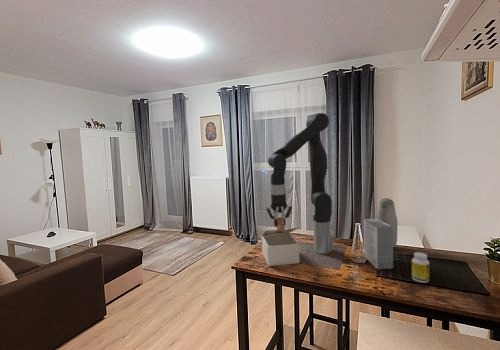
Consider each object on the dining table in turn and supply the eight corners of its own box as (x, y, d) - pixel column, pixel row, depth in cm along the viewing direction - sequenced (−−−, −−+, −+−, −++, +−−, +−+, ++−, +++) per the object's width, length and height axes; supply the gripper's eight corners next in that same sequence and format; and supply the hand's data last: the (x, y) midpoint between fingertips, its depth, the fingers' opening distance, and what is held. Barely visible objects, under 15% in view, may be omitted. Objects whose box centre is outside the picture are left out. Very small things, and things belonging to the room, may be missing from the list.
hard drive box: (393, 269, 120) (393, 227, 118) (377, 269, 120) (376, 227, 118) (378, 255, 135) (377, 218, 134) (363, 256, 136) (362, 218, 134)
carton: (289, 249, 149) (289, 232, 148) (299, 262, 132) (298, 243, 131) (262, 252, 148) (261, 235, 147) (268, 266, 130) (267, 246, 129)
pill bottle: (429, 284, 105) (429, 258, 104) (411, 281, 109) (411, 255, 108) (428, 277, 111) (429, 252, 110) (411, 274, 114) (411, 250, 113)
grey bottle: (375, 244, 151) (375, 196, 148) (395, 245, 147) (395, 196, 145) (377, 250, 141) (377, 200, 139) (399, 252, 138) (399, 200, 135)
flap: (289, 232, 148) (287, 221, 150) (297, 229, 131) (295, 216, 133) (261, 235, 147) (260, 223, 149) (266, 231, 130) (264, 218, 132)
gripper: (289, 191, 138) (291, 223, 139) (263, 193, 136) (265, 225, 137) (293, 193, 130) (295, 227, 132) (266, 195, 129) (267, 229, 130)
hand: (279, 226), depth 135 cm, fingers closed on flap, 3 cm apart
